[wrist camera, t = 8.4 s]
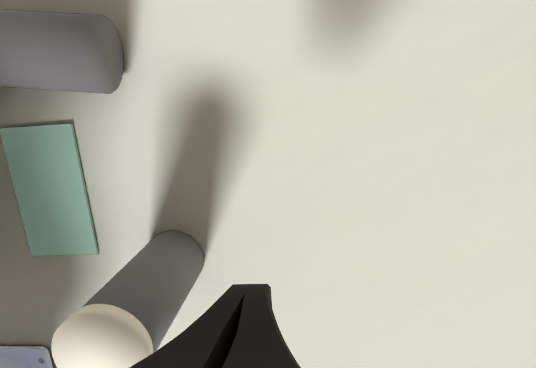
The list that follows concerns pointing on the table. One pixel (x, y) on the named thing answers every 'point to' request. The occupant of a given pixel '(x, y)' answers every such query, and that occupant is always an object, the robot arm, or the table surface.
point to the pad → (50, 189)
